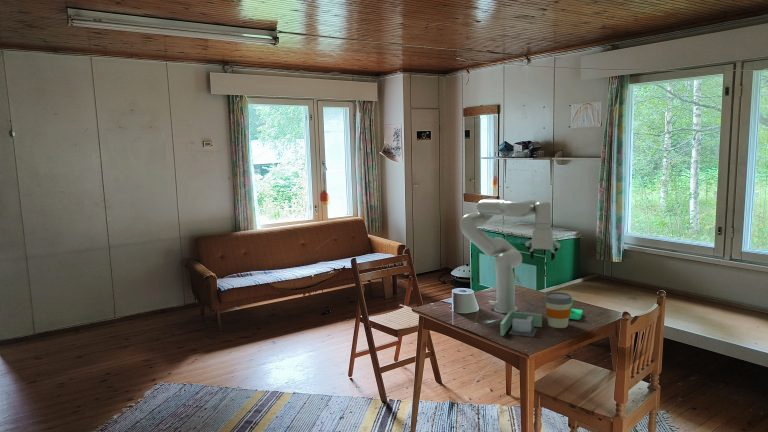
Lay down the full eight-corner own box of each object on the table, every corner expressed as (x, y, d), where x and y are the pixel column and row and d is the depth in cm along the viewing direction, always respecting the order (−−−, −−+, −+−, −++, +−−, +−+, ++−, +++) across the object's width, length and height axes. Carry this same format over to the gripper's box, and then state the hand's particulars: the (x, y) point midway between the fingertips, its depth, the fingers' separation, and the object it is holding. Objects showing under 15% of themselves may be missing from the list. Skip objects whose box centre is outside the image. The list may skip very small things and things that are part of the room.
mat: (508, 333, 250) (508, 333, 250) (513, 326, 260) (513, 325, 260) (533, 337, 245) (533, 336, 245) (537, 329, 255) (537, 328, 255)
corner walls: (500, 335, 248) (500, 323, 247) (509, 322, 266) (509, 310, 265) (534, 340, 241) (534, 327, 241) (541, 326, 259) (541, 314, 259)
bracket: (530, 334, 248) (530, 321, 247) (512, 332, 252) (512, 319, 251) (533, 328, 255) (533, 316, 255) (515, 326, 259) (515, 314, 258)
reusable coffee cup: (577, 327, 256) (577, 297, 254) (554, 330, 252) (554, 300, 250) (561, 319, 268) (561, 290, 266) (539, 322, 264) (539, 293, 262)
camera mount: (578, 321, 265) (578, 301, 263) (562, 319, 269) (562, 299, 267) (582, 314, 275) (583, 295, 273) (567, 312, 279) (567, 293, 277)
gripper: (523, 226, 266) (523, 260, 268) (559, 228, 259) (559, 262, 261) (526, 224, 273) (526, 257, 275) (561, 225, 265) (561, 259, 268)
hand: (542, 259), depth 268 cm, fingers open, 9 cm apart
